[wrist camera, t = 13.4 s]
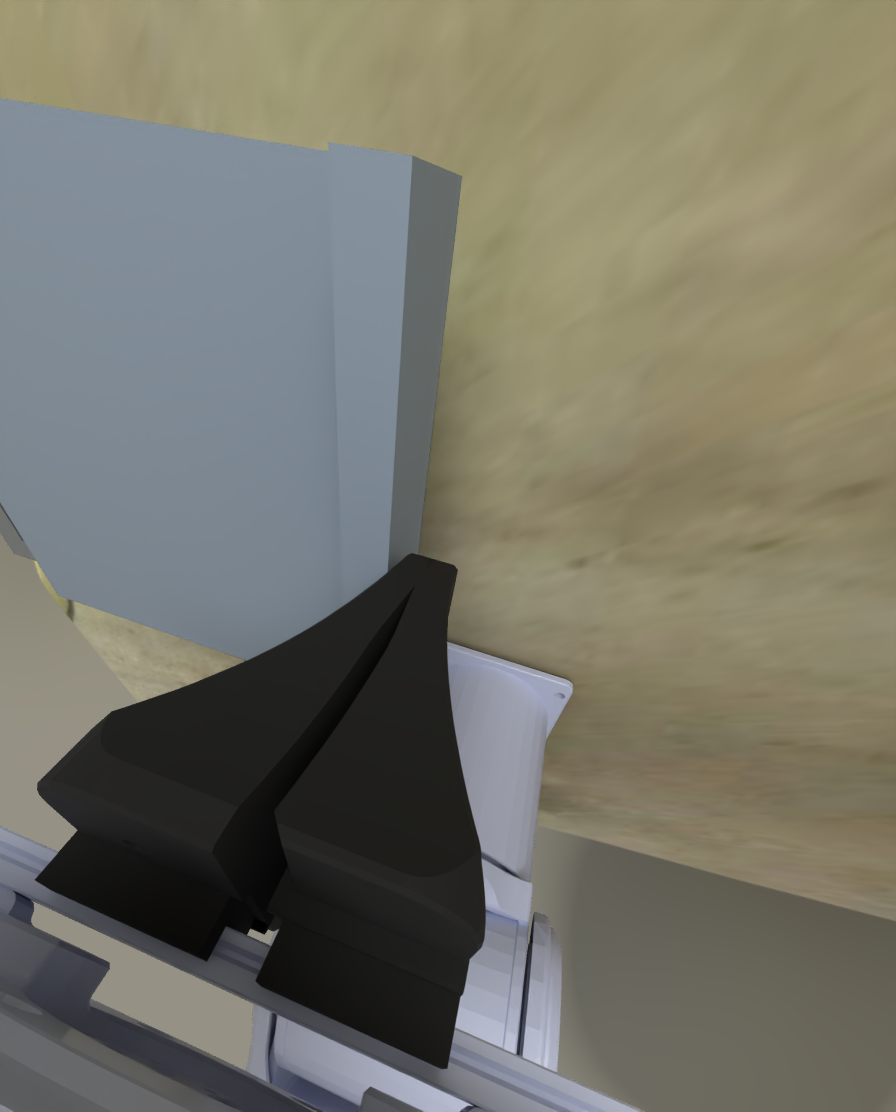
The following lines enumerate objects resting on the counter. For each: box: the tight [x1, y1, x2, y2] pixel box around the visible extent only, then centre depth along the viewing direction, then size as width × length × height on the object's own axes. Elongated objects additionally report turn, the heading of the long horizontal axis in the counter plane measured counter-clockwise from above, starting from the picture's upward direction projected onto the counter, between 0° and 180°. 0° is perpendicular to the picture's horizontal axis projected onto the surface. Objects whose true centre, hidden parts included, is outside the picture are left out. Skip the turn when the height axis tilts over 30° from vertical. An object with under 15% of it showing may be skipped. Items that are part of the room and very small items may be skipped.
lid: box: [0, 98, 462, 660], centre depth 13 cm, size 16×16×3 cm
